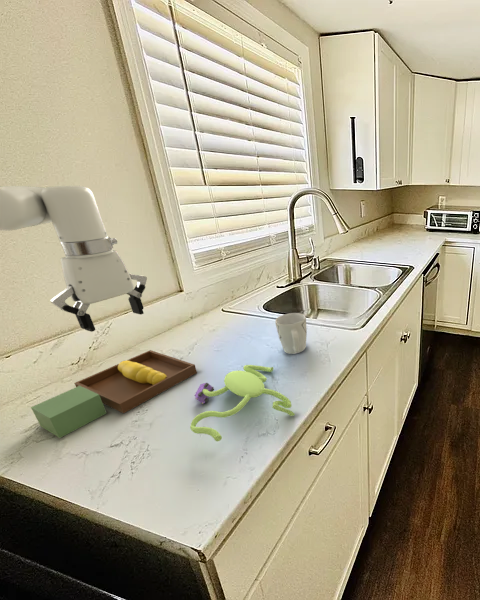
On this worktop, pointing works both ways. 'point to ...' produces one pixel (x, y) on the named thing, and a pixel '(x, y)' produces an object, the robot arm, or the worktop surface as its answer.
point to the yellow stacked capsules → (140, 372)
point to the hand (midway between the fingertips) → (115, 321)
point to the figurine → (241, 385)
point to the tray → (132, 393)
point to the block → (69, 411)
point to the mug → (292, 332)
